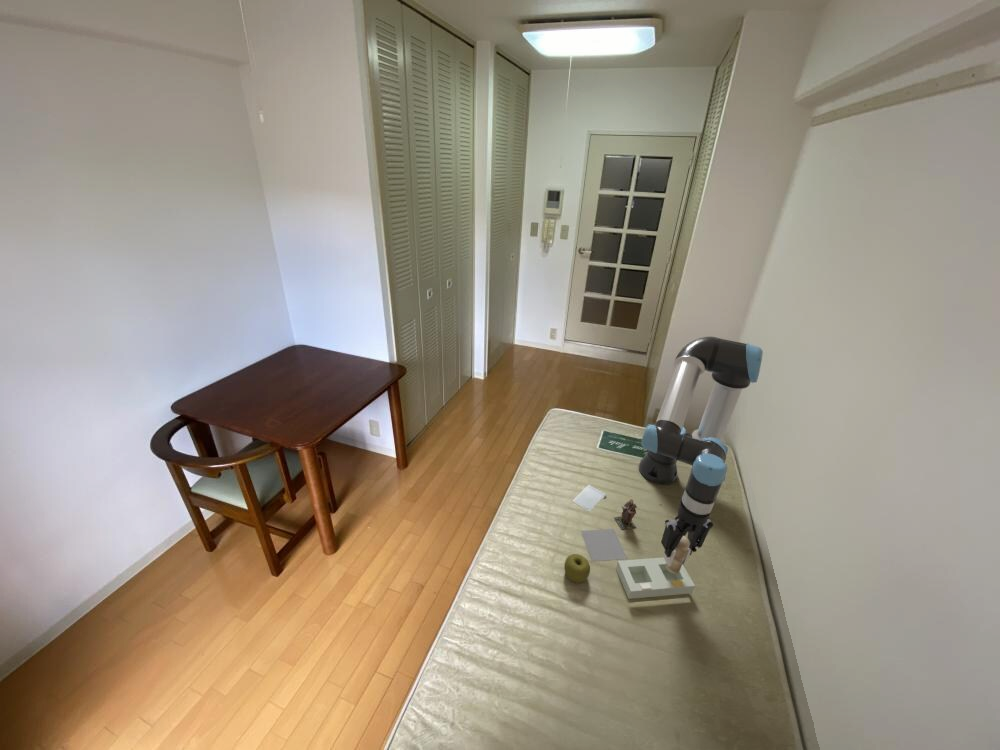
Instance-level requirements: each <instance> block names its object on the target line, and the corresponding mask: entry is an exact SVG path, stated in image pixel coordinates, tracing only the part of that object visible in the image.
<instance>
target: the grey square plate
mask: <svg viewBox="0 0 1000 750" xmlns="http://www.w3.org/2000/svg"><path fill="white" fill-rule="evenodd" d="M580 533H581V535H582V537H583V538H582V539H583V540H584V544H585V547H586V549H587V552H588V555H589V558H590V560H591V562H600V561H601V562H602V561H604V562H605V561H616V560H618V561H619V560H628V557H627V555H626V553H625V551H624V548H623V546H622V543H621V541H620V539H619V537H618V534H617V532H616V530H615V529H614V528H603V529H601V528H600V529H587V530H580Z"/></svg>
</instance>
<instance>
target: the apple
mask: <svg viewBox="0 0 1000 750" xmlns="http://www.w3.org/2000/svg"><path fill="white" fill-rule="evenodd" d="M564 571H565V572H564V573H565V576H566V577H567V578H568V579H569V581H571V582H573V583H575V584H579V583H583V582H585V581H586V580H587V579H588V578H589V575H590V572H591V565H590V563H589V561H588V559H587V558H586V557H585V556H583V555H581V554H578V553H572V554H570V555H568V556H567V557H566V558H565V562H564Z"/></svg>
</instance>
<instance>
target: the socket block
mask: <svg viewBox="0 0 1000 750" xmlns="http://www.w3.org/2000/svg"><path fill="white" fill-rule="evenodd" d="M664 557H665V556H663V557H654V558H653V557H652V558H651V557H650V558H640V559H639V558H638V559H622V560H618V561H617V564H616V566H615V569H616V572H617V574H618V577H619V580H620V582H621V584H622V586H623V588H624V592H625V594H626V596H627V598H628V599H627V600H629V599H631V600H632V599H642V598H643V599H644V598H651V597H653V598H654V597H665V596H676V595H688V594H689V596H692V594H693V592H694V590H695V587H696V585H695V583H694V582H693V580H692V578H691V577H690V574H689V573H688V570H686V568H685V565H683V564H682V566H681V569H680V571H679V573H677V574H673V573H671V572H669V571H668V570H667V568H666V561H665V559H664Z"/></svg>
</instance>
